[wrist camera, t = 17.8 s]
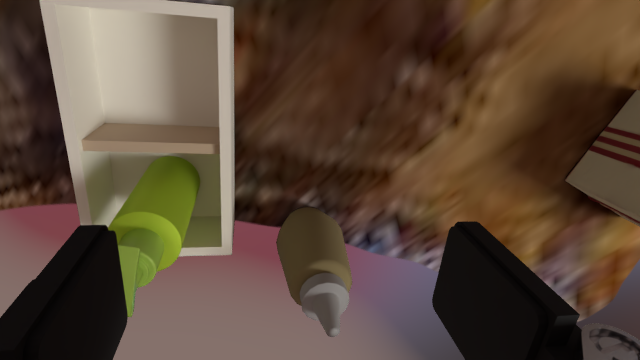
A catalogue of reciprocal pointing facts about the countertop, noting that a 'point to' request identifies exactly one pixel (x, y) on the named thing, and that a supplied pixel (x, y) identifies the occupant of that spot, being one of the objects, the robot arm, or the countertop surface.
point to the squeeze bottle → (316, 266)
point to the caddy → (146, 104)
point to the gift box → (614, 164)
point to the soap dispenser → (154, 222)
